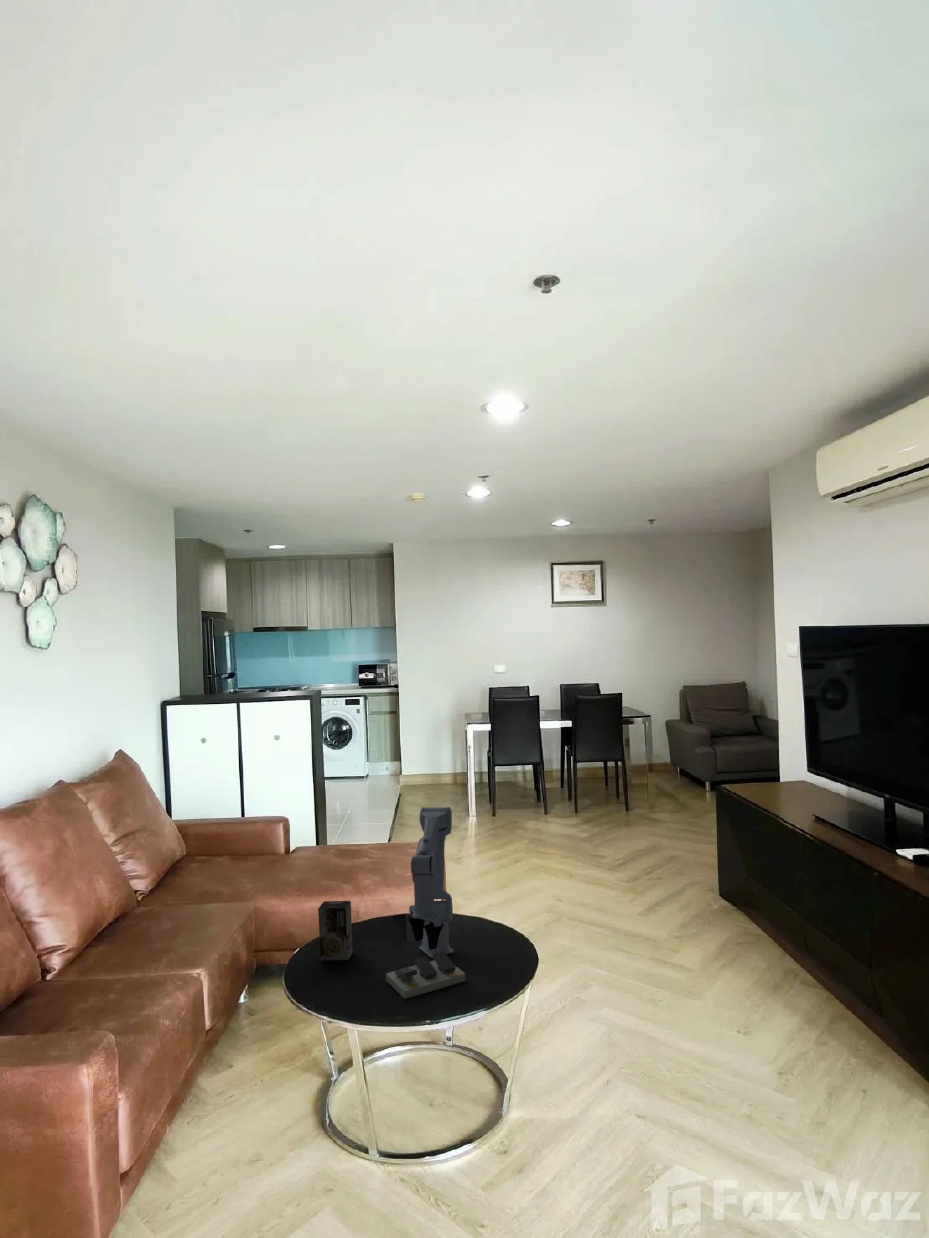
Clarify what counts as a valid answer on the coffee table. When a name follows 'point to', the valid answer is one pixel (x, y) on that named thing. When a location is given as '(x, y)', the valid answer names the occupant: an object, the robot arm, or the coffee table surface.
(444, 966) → the rocker back
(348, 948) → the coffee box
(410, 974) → the block
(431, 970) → the rocker mid
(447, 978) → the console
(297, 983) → the coffee table surface
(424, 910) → the robot arm
